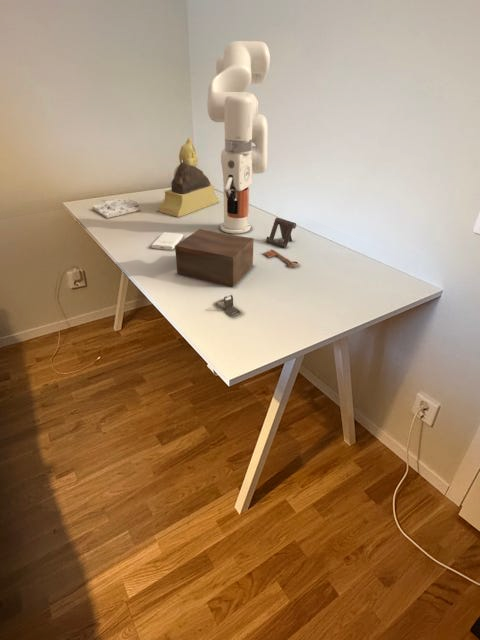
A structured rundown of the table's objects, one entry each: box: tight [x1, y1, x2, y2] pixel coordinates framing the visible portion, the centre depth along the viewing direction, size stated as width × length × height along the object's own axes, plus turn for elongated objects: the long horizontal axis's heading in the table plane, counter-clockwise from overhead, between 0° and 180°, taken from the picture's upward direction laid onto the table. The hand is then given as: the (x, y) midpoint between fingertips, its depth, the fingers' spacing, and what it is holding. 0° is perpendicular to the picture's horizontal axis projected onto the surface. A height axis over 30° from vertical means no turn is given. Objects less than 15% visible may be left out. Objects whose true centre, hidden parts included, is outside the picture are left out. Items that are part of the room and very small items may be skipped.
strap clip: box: [215, 294, 241, 317], centre depth 107 cm, size 8×3×4 cm, turn 37°
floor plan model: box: [92, 197, 140, 219], centre depth 181 cm, size 19×25×2 cm
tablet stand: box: [265, 217, 297, 249], centre depth 146 cm, size 9×8×8 cm
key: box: [263, 249, 299, 268], centre depth 135 cm, size 6×1×15 cm
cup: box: [227, 187, 250, 218], centre depth 115 cm, size 6×6×8 cm
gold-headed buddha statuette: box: [157, 137, 219, 218], centre depth 175 cm, size 28×13×30 cm, turn 144°
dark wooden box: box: [174, 228, 255, 288], centre depth 125 cm, size 16×20×10 cm
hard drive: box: [151, 231, 184, 251], centre depth 146 cm, size 2×8×12 cm
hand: (237, 209), depth 117 cm, fingers closed on cup, 6 cm apart
